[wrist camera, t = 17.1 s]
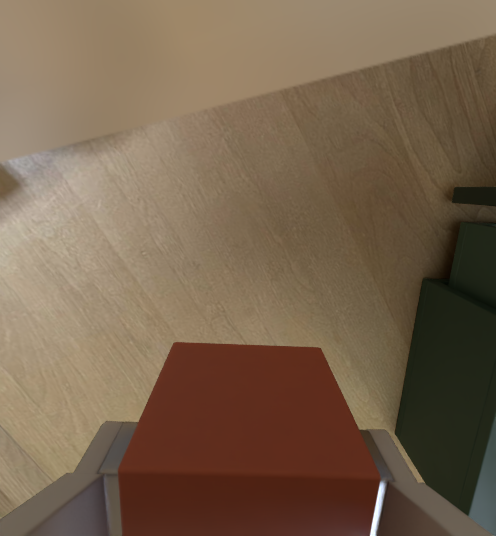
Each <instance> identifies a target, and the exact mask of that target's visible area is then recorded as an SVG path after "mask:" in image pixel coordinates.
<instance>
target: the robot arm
mask: <svg viewBox="0 0 496 536" xmlns="http://www.w3.org/2000/svg"><path fill="white" fill-rule="evenodd" d="M137 425H138V422H118V421H106V422H105V423H103V424H102V425H101V427H100V429H99V430H98V432H97V434H96V435H95V437H94V439H93V440H92V442H91V444H90V445H89V447H88V449H87V450H86V452H85V454H84V456H83V457H82V459H81V461H80V462H79V464H78V466H77V467H76V469H75V471H74V472H73V473H66V474H65V475H63V476H62V477H60V478H59V479H58V480H56V481H55V482H53V483H52V484H50V485H49V486H48V487H46V488H45V489H43V490H42V491H40V492H39V493H37V494H36V495H35V496H33V497H32V498H30V499H29V500H27V501H26V502H25V503H23V504H22V505H20V506H19V507H17V508H16V509H15V510H13V511H12V512H10V513H9V514H7V515H6V516H5V517H3V518H2V519H0V536H122V526H121V511H120V497H119V482H118V468H119V465H120V463H121V461H122V459H123V456H124V454H125V452H126V450H127V447H128V445H129V443H130V440H131V438H132V436H133V434H134V431H135V429H136V427H137ZM359 431H360V433H361V435H362V437H363V439H364V441H365V443H366V446H367V448H368V450H369V452H370V454H371V456H372V458H373V460H374V463H375V465H376V467H377V469H378V471H379V473H380V476H381V481H380V486H379V491H378V496H377V501H376V507H375V512H374V517H373V522H372V528H371V533H370V536H494V535H492V534H491V533H490V532H488V531H487V530H486V529H484V528H483V527H482V526H480V525H479V524H478V523H476V522H475V521H474V520H472V519H471V518H470V517H468V516H467V515H466V514H464V513H463V512H462V511H460V510H459V509H458V508H457V507H455V506H454V505H453V504H451V503H450V502H449V501H447V500H446V499H445V498H443V497H442V496H441V495H439V494H438V493H437V492H435V491H434V490H433V489H431V488H430V487H429V486H427V485H426V484H425V483H418V482H417V480H416V479H415V477H414V475H413V474H412V472H411V470H410V469H409V467H408V465H407V464H406V462H405V460H404V458H403V457H402V455H401V453H400V452H399V450H398V448H397V447H396V445H395V443H394V442H393V440H392V438H391V436H390V435H389V433H388V432H387V431H386V430H383V429H366V430H359Z"/></svg>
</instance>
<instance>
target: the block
mask: <svg viewBox="0 0 496 536" xmlns="http://www.w3.org/2000/svg"><path fill="white" fill-rule="evenodd" d="M380 481H381V476H380V473H379V471H378V469H377V467H376V465H375V463H374V460H373V458H372V456H371V454H370V452H369V450H368V448H367V446H366V443H365V441H364V439H363V437H362V435H361V433H360V431H359V428H358V426H357V424H356V422H355V420H354V418H353V416H352V414H351V411H350V409H349V407H348V405H347V403H346V401H345V399H344V397H343V394H342V392H341V390H340V388H339V386H338V384H337V382H336V380H335V377H334V375H333V373H332V371H331V369H330V367H329V365H328V362H327V360H326V358H325V356H324V354H323V352H322V350H321V348H318V347H292V346H265V345H238V344H211V343H185V342H175V343H173V345H172V348H171V350H170V352H169V354H168V357H167V359H166V361H165V363H164V366H163V368H162V370H161V372H160V375H159V377H158V379H157V382H156V384H155V386H154V388H153V391H152V393H151V395H150V397H149V400H148V402H147V404H146V406H145V409H144V411H143V413H142V416H141V418H140V420H139V422H138V425H137V427H136V429H135V431H134V434H133V436H132V438H131V440H130V443H129V445H128V447H127V450H126V452H125V454H124V456H123V459H122V461H121V463H120V465H119V468H118V482H119V497H120V511H121V526H122V536H370V533H371V528H372V522H373V517H374V512H375V507H376V501H377V496H378V491H379V486H380Z"/></svg>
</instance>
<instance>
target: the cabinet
mask: <svg viewBox="0 0 496 536" xmlns="http://www.w3.org/2000/svg"><path fill="white" fill-rule="evenodd" d="M448 284H449V279H428V278H424V279H423V281H422V287H421V292H420V298H419V303H418V309H417V315H416V320H415V326H414V331H413V337H412V342H411V348H410V353H409V359H408V365H407V370H406V376H405V381H404V387H403V392H402V398H401V403H400V409H399V414H398V420H397V426H396V431H395V435H396V436H397V438H398V440H399V441H400V443H401V445H402V446H403V448H404V449H405V451H406V453H407V454H408V456H409V458H410V459H411V461H412V462H413V464H414V466H415V467H416V469H417V471H418V472H419V474H420V475H421V477H422V479H423V480H424V482H425V483H426V485H427V486H429V487H430V488H431V489H433V490H434V491H435V492H437V493H438V494H439V495H441V496H442V497H443V498H445V499H446V500H447V501H449V502H450V503H451V504H453V505H454V506H455V507H457V508H458V509H459V510H460V511H462V512H463V513H464V514H466V515H467V516H468V517H470V518H471V519H472V520H474V521H475V522H476V523H478V524H479V525H480V526H482V527H483V528H484V529H486V530H487V531H488V532H490V533H491V534H492V535H494V536H496V309H494V308H492V307H490V306H488V305H486V304H484V303H482V302H480V301H478V300H476V299H474V298H472V297H470V296H468V295H465V294H463V293H461V292H459V291H457V290H455V289H453V288H451V287H449V286H448Z"/></svg>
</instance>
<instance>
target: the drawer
mask: <svg viewBox="0 0 496 536" xmlns="http://www.w3.org/2000/svg"><path fill="white" fill-rule="evenodd" d="M452 203H462V204H476V205H489V206H496V187H455V188H454V193H453V198H452ZM448 286H449V287H451V288H453V289H455V290H457V291H459V292H461V293H463V294H465V295H468V296H470V297H472V298H474V299H476V300H478V301H480V302H482V303H484V304H486V305H488V306H490V307H492V308H494V309H496V223H480V222H461V225H460V230H459V235H458V240H457V245H456V250H455V255H454V260H453V265H452V270H451V275H450V279H449V284H448Z"/></svg>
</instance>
